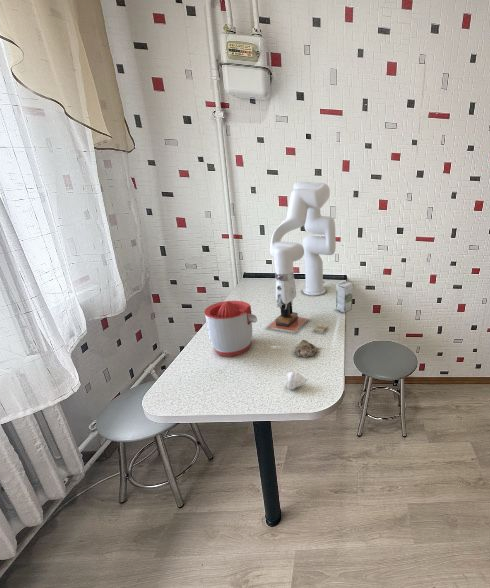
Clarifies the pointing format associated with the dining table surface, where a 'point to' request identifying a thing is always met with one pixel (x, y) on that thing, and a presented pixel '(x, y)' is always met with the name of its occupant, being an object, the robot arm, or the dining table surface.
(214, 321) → the citrus juicer
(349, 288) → the syrup box
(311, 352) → the mineral rock
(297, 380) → the garlic bulb
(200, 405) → the dining table surface
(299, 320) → the tile
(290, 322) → the brush
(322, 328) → the cork chip
